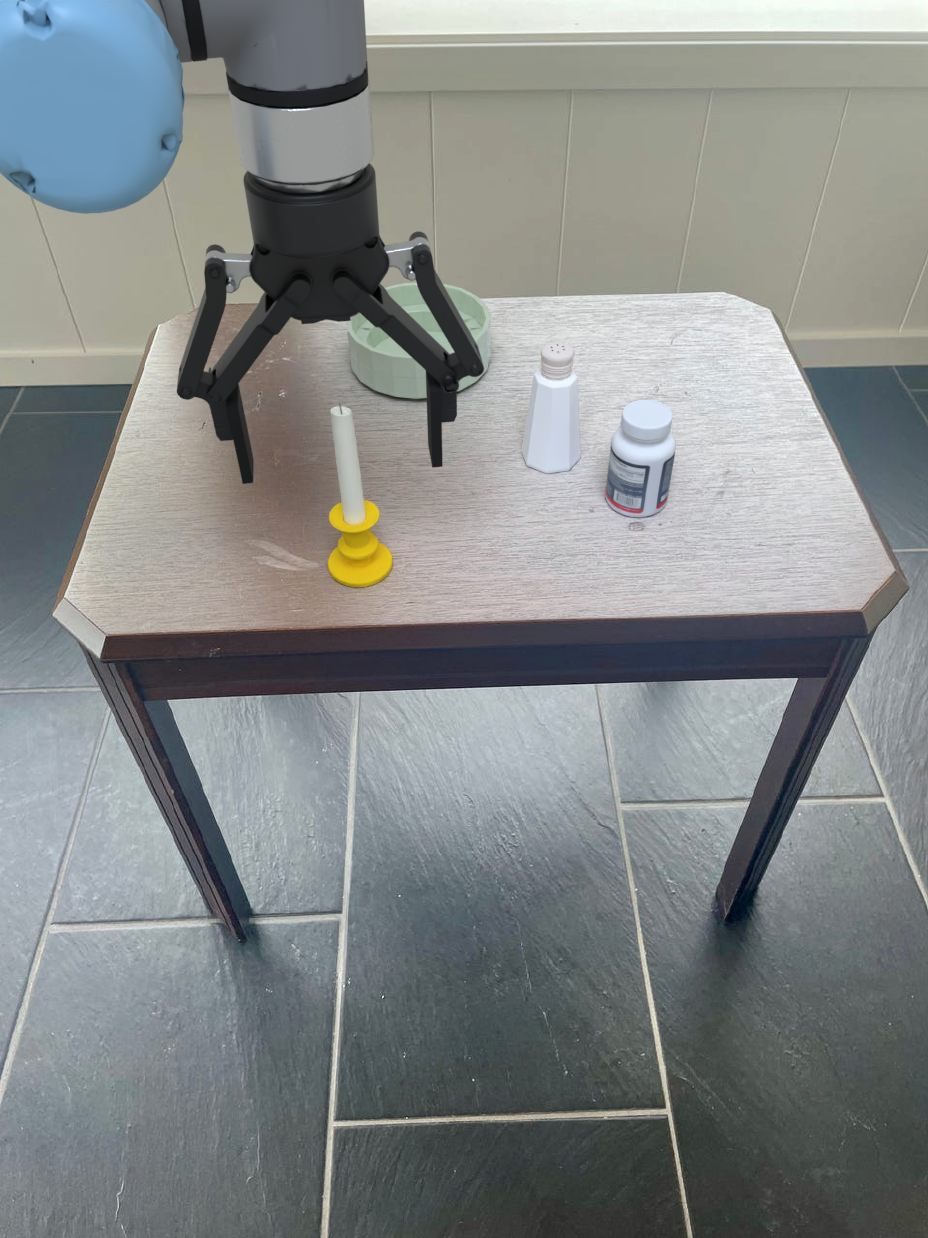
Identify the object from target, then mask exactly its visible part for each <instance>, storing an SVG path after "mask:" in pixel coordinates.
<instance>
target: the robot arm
mask: <svg viewBox="0 0 928 1238" xmlns="http://www.w3.org/2000/svg"><path fill="white" fill-rule="evenodd" d="M365 12H366V11H365V0H0V174H1V176H2V177H4V178H5V179H6V180H7V181H9V182H10V183H11V184H12V185H13V186H14V187H16V188H17V189H18V190H20V191H22V192H23V193H25V194H26V195H28V196H30V197H31V198H32V199H34V200H35V201H38V202H39V203H41V204H43V205H44V206H45V205H46V206H48V207H51V208H53V209H56V210H60V211H63V212H64V211H65V212H69V213H76V214H84V215H87V214H102V213H103V214H104V213H109V212H114V211H118V210H121V209H125V208H128V207H129V206H131V205H134V204H136V203H138V202H140V201H141V200H142V199H144V198H146V197H148V195H150V194H152V193H153V191H154V190H155V189H157V188H158V187H159V186H160V184H161V183H162V182H163V181H164V180H165V178H166V177H167V176H168V174H169V172H170V170H171V168H172V167H173V166H174V163H175V161H176V158H177V155H178V153H179V150H180V147H181V144H182V142H183V138H184V135H183V134H184V133H183V129H184V107H185V100H186V99H185V98H186V93H185V90H184V86H183V76H184V68H183V64H184V63H192V62H195V63H196V62H203V61H207V60H209V59H218V58H219V59H221V58H222V59H223V64H224V67H225V76H226V82H227V91H228V97H229V98H228V99H229V103H230V109H231V115H232V122H233V126H234V133H235V138H236V144H237V150H238V157H239V161H240V165H241V166H242V167H243V168H244V170H245V171H246V172H245V173H244V175H243V180H242V181H243V187H244V193H245V198H246V204H247V212H248V217H249V223H250V229H251V230H250V231H251V236H252V243H253V246H252V249H251V252H250V253H233V252H226V249H224V247H223V246H221V245H219V244H210V245H209V246H208V247H207V248H206V250H205V259H204V271H203V275H204V290H203V294H202V296H201V300H200V302H199V305H198V308H197V311H196V314H195V319H194V321H193V324H192V327H191V331H190V333H189V337H188V340H187V343H186V346H185V348H184V352H183V354H182V355H183V356H182V359H181V362H180V365H179V368H178V375H177V385H176V394H177V396H178V397H179V398H181V399H183V400H185V401H186V400H188V401H189V400H191V399H194V398H197V399H201V400H203V401H205V402H206V403H207V404H208V407H209V410H210V413H211V418H212V422H213V423H212V424H213V427H214V432H215V435H216V437H217V438H218V439H219V441H220V442H227V441H233V445H234V449H235V454H236V459H237V463H238V468H239V473H240V478H241V483H242V484H243V485H247V484H254V474H255V473H254V471H255V470H254V468H255V467H254V466H255V465H254V463H255V462H254V461H255V459H254V455H253V449H252V445H251V439H250V434H249V430H248V423H247V419H246V414H245V410H244V403H243V398H242V394H241V389H240V385H239V384H240V382H241V381H242V380H243V378H244V377H245V376H246V374H247V373H248V371H249V370H250V368H251V367H252V366H253V365H254V363H255V362H256V360H257V359H258V358H259V356H260V355H261V354H262V353H263V351H264V349H266V347H267V345H268V344H269V343H270V341H272V339H273V338H274V336H277V335H279V334H280V332H281V331H282V330H283V328H284V327H285V326H286V325H287V324H288V322H289V321H290V319H291V318H292V319H294V320H296V321H300V324H301V325H310V324H316V323H317V324H318V323H320V322H322V321H326V320H327V321H332V322H337V323H339V322H346V321H351V318H350V317H353V316H355V315H357V314H358V313H361V314H362V315H363V316H364V317H365V318H366V319H367V320H368V321H369V322H370V323H371V324H373V325H374V326H375V327H377V328H378V327H379V328H381V329H382V330H383V331H384V332H385V333H386V334H387V335H388V336H389V337H390V338H392V339H393V340H394V341H395V342H396V343H397V344H398V345H399V346H400V347H401V348H402V349H403V350H404V351H406V352H407V353H408V354H409V355H410V356H411V357H412V358H413V359H414V360H415V361H416V362H417V363H419V364H420V365H421V366H422V367H423V368H424V369H425V370H426V395H427V398H426V420H427V421H426V425H427V447H428V452H429V458H430V462H431V463H430V464H431V468H433V469H434V468H442V467H443V423H454V422H455V421H456V419H457V416H458V402H457V401H458V391H457V390H458V388H459V381H460V380H461V379H462V378H464V377H467V376H471V377H478V376H480V375H481V374H482V373H483V371H484V366H483V362H482V358H481V355H480V351H479V348H478V345H477V344H476V342H475V340H474V338H473V337H472V335H471V333H470V331H469V329H468V328H467V326H466V324H465V322H464V321H463V319H462V317H461V315H460V314H459V312H458V310H457V308H456V307H455V305H454V303H453V301H452V299H451V298H450V296H449V294H448V292H447V291H446V289H445V287H444V285H443V284H444V283H443V282H442V280H441V278H440V276H439V275H438V273H437V271H436V270H435V266H434V260H433V255H432V251H431V245H430V241H429V238H428V235H427V234H426V233H425V232H423V231H414V232H412V233H411V234H410V236H409V238H408V240H407V241H401V242H396V243H391V244H390V243H389V244H385V243H384V241H383V239H382V238H381V235H380V223H379V206H378V193H377V178H376V177H377V176H376V170H375V168H374V166H373V165H372V164H371V162H372V161H373V159H374V155H375V147H374V146H375V145H374V130H373V129H374V127H373V113H372V101H371V100H372V98H371V97H372V96H371V83H370V78H369V66H368V50H367V32H366V29H367V28H366V14H365ZM182 63H183V64H182ZM390 268H395V269H398V270H399V271H400V274H401V275H402V277H403V278H404V279H406V280H408V281H415V282H417V286H418V289H419V292H420V294H421V296H422V298H423V299H424V301H425V303H426V305H427V306H428V308H429V310H430V311H431V313H432V315H433V316H434V318H435V320H436V321H437V323H438V325H439V327H440V328H441V330H442V332H443V333H444V335H445V337H446V338H447V340H448V342H449V343H450V345H451V347H452V348H453V350H454V353H452V354H449V353H448V352H447V351H446V350H445V349H444V348H443V347H442V346H441V345H440V344H439V343H438V342H437V341H436V340H435V339H434V338H433V337H432V336H431V335H430V334H429V333H428V332H427V331H425V330H424V329H423V328H422V327H421V326H420V325H419V324H418V323H417V322H416V321H415V320H414V319H413V318H412V317H411V316H410V315H409V314H408V313H407V312H406V311H405V310H404V309H403V308H402V307H401V306H400V305H399V304H397V303H396V302H395V301H394V300H393V299H392V298H391V297H390V295H389V294H388V292H387V291H386V289H385V287H384V286H383V285H382V284H381V282H382V281H383V280H384V278H385V277H386V275H387V274H388V272H389V269H390ZM248 277H249V278H251V279H252V280H253V282H254V283H255V284H256V285H257V287H259V288H260V289H261V290H262V291H263V293H262V295H261V297H260V298H259V301H258V304H257V306H256V307H255V309H254V310H253V312H252V313H251V314H250V316H249V317H248V318H247V320H246V321H245V323H243V325H242V327H241V328H240V330H239V331H238V332H237V334H236V335H235V337H234V338H233V339H232V341H231V342H230V343H229V345H228V346H227V347H226V349H225V351H224V352H223V353H222V354H221V356H220V357H219V359H218V360H217V362H216V363H215V364H214V366H213V367H209V368H208V371H205V368H206V365H207V362H208V359H209V356H210V353H211V351H212V348H213V344H214V342H215V340H216V336H217V334H218V331H219V327H220V324H221V321H222V318H223V315H224V313H225V310H226V309H225V308H226V306H227V304H226V303H227V294H233V293H234V292H237V291H238V290H239V288H240V287H241V286H240V285H241V282H242V281H243V280H244V279H245V278H248ZM442 283H443V284H442Z"/></svg>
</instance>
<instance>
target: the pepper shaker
mask: <svg viewBox="0 0 928 1238" xmlns="http://www.w3.org/2000/svg"><path fill="white" fill-rule="evenodd" d="M575 351H576V350H575V349H574V347H573V346H572V345H571V344H570V343H568V342H565V341H561V340H553V341H549V342H546V343H544V344H543V345H542V346H541V348H540V352H539V353H540V368H539V369H538V370H536V371H535V373H533V378H532V383H531V387H530V388H531V389H530V394H529V401H528V407H527V414H526V419H525V426H524V431H523V432H524V433H523V439H522V445H521V450H520V451H521V454H522V457H523V459H524V462H525V465H526V466H527V467H529V468H531V469H534V470H536V471H539V472H541V473H544V474H546V475H549V474H555V473H556V474H557V473H563V472H569V471H570V470H571V469H572V468H573V467H574V466H575V465H576V463H578V461H579V460H580V459H581V458H582V456H581V455H582V454H581V453H582V451H581V448H582V447H581V423H580V422H581V421H580V420H581V419H580V393H579V392H580V391H579V378H578V375H577V374H576V372H575V369H574V368H573V366H574V356H575Z"/></svg>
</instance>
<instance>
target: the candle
mask: <svg viewBox="0 0 928 1238" xmlns="http://www.w3.org/2000/svg"><path fill="white" fill-rule="evenodd" d="M329 412H330V420H331V421H330V422H331V423H330V424H331V432H332V440H333V446H334V455H335V463H336V471H337V478H338V485H339V486H338V487H339V493H340V502H338V503H337V504H336V505H334V506H333V507H332V508H331V510H330V511H329V514H328V520H329V523H330V525H331V526H332V527H333V528H334V529H336V530H338V531H339V532H341V536H340V538H338V541H337V546H336V547H335V548H334V549H333V550H332V551H331V553H330V554H329V557H328V559H327V568H328V572H329V575H330V576H331V577H332V579H333V580H334V581H335V582H337V583H339V584H341V585H343V586H346V587H350V588H366V587H371V586H374V585H377V584H378V583H380V582H382V581H383V580H384V579H386V577H388V576H389V574H390V573H391V571H392V569H393V567H394V566H393V565H394V564H393V563H394V562H393V561H394V560H393V555H392V552H391V550H390V549H389V548H388V547H387V546H386V545H385V544H384V543H382V542H380V541H379V540H378V537H377V536H376V534H375V533H373V532H372V531H371V528H372V527H374V526H375V525H376V524H377V523H378V521H379V519H380V510H379V507H378V506H377V505H376V504H375V503H374V502H372V501H370V500H367V499H364V491H363V484H362V483H363V482H362V476H361V474H362V473H361V467H360V459H359V451H358V442H357V438H356V437H357V435H356V428H355V423H354V422H355V421H354V417H353V411H352V409H351V408H349V407H347V406H343V405H342V403H339V404H338V405H337V406H333V407H331V408H330V411H329Z"/></svg>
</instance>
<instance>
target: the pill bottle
mask: <svg viewBox="0 0 928 1238" xmlns="http://www.w3.org/2000/svg"><path fill="white" fill-rule="evenodd" d="M621 412H622V413H621V417H620V418H621V419H620V426H619V427H618V428H616V429H615V431H614V432H613V434H612V437H611V441H610V449H609V458H608V467H607V474H606V475H607V477H606V484H605V499H606V502H607V504H608V505H609V507H610V508H611V509H613V510H614V511H616V513H619V514H621V515H623V516H625V517H630V518H645V517H650V516H653V515H656V514H658V513H659V512H660V511H662V510H663V509H664V508H665V507H666V504H667V501H668V498H669V497H668V496H669V491H670V486H671V481H672V474H673V468H674V462H675V457H676V456H675V455H676V448H677V441H676V438H675V437H676V436H675V435H674V433H673V432H672V425H673V412H672V410H671V408H670V407H668V406H667V405H666V404H665V403H662V402H660V401H657V400H655V399H654V400H653V399H637V400H634V401H630V402H629V403H627V404H626V405H625V406H624V408H623V409H622V411H621Z"/></svg>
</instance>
